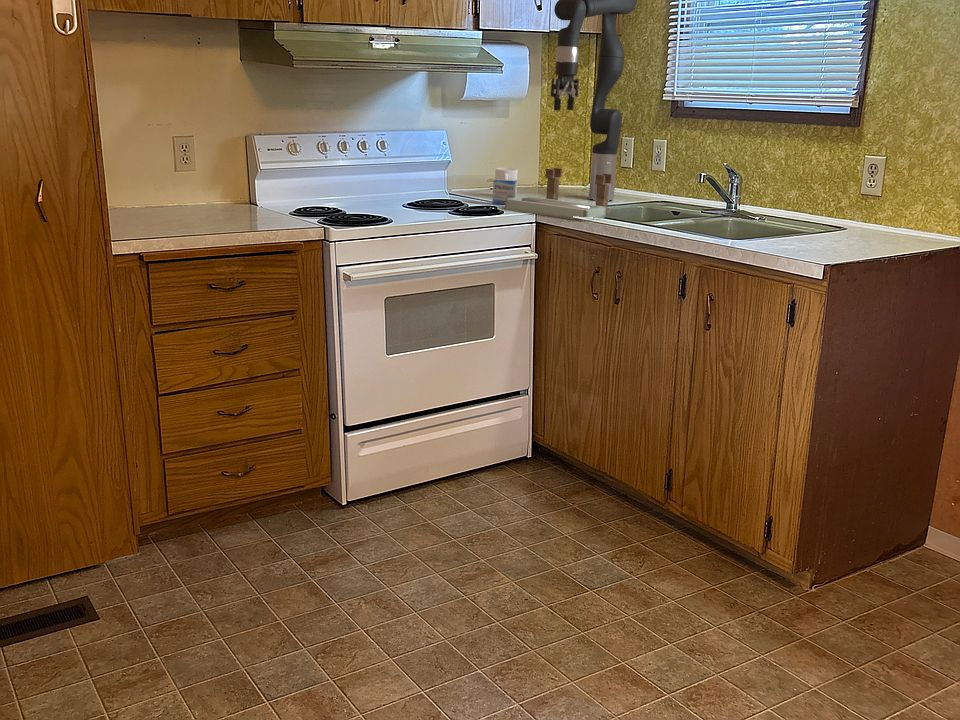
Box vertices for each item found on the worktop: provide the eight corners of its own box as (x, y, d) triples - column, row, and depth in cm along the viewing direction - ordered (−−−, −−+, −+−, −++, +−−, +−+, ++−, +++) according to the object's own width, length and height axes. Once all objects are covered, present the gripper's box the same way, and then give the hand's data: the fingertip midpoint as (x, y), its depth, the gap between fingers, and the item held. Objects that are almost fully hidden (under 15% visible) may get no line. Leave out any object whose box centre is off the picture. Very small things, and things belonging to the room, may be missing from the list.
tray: (525, 205, 326) (526, 195, 325) (605, 217, 308) (606, 206, 307) (504, 209, 316) (505, 198, 315) (585, 221, 298) (586, 210, 297)
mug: (515, 200, 338) (517, 171, 335) (493, 199, 339) (494, 170, 336) (516, 196, 350) (518, 168, 347) (494, 195, 350) (496, 167, 347)
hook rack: (551, 204, 332) (553, 167, 328) (610, 212, 318) (613, 174, 314) (542, 206, 327) (544, 168, 323) (601, 214, 314) (605, 175, 310)
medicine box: (492, 204, 325) (493, 179, 323) (493, 203, 330) (494, 178, 327) (514, 206, 325) (515, 181, 322) (515, 204, 329) (516, 179, 326)
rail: (525, 206, 320) (526, 197, 320) (590, 215, 306) (591, 206, 305) (520, 205, 318) (521, 197, 317) (586, 215, 303) (587, 206, 303)
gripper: (568, 61, 322) (565, 109, 327) (546, 59, 311) (543, 109, 316) (587, 61, 318) (583, 110, 323) (565, 60, 307) (562, 111, 312)
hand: (563, 110), depth 319 cm, fingers open, 8 cm apart
